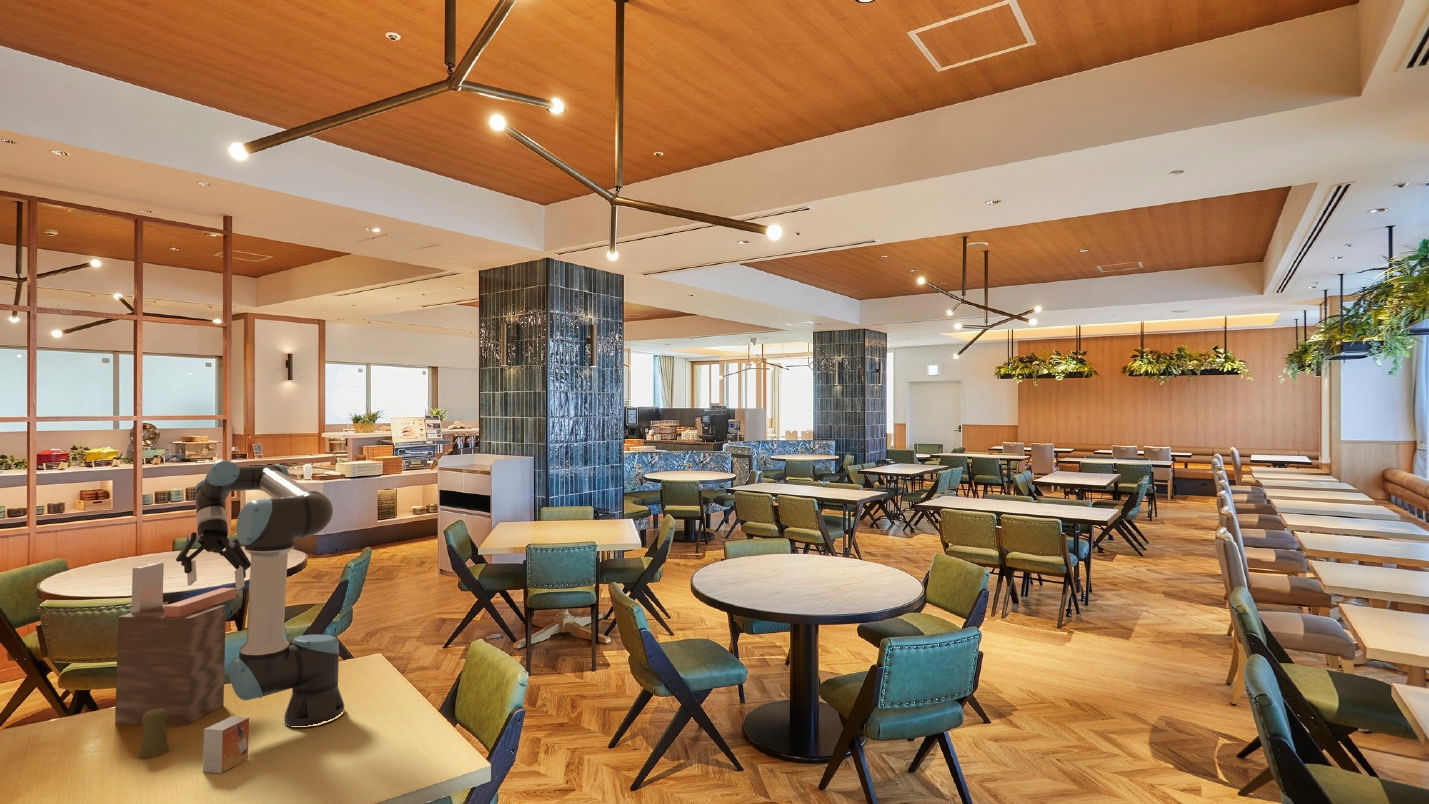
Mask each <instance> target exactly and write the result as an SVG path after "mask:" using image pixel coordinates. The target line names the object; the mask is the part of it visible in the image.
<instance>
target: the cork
mask: <svg viewBox="0 0 1429 804" xmlns="http://www.w3.org/2000/svg"><path fill="white" fill-rule="evenodd" d="M167 716H168V713H167V711H166V709H163V708H157V709H152V710H149V711H147V712H146V713H145V714H144V715H143V717H142V722H143V724H144V725H143V726H144V728H143V731H142V732H143V733H142V739H141V742H140V743H141V744H140V747H139V748H140V749H139V753H138V758H139V759H141V760H149V759H154V758H158V757H161V756H163V755H166V753H168V752H169V751H170V750H169V743H168V742H169V741H168V735H167V730H166V727H167V726H166V725H165V720H166V719H167Z"/></svg>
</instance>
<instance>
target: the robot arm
mask: <svg viewBox="0 0 1429 804" xmlns="http://www.w3.org/2000/svg"><path fill="white" fill-rule="evenodd" d="M253 490H254V491H256V490H261V491H262V492H264V493H265V494H267V495H268V496H269V497H270V498H269V497H268V498H261V499H253V500H250V501H248V502H247V503H246V504H244V505H243V507H242V508H241V509H240V512H239V514H238V516H237V520H236V529H235V530H236V531H235V532H236V538H237V539H234V540H229V538H228V534H229V529H228V517H227V516H228V515H227V506H226V505H227V504H226V500H227V497H228V496H229V494H230V492H240V491H253ZM194 499H195V511H196V524H197V532H193V531H192V533H191V534H189V535H188V536H187V538H186V543H185V545H184V546H183V548H182V549H181V550H180V552H179V553H178V555H177V557H176V558H175V561H176V562H179V563H180V562H181V563H180V565H181V567H182V566H183V571H184V574H186V578H187V586H192V585H193V584H194V583H195V582H196V581H198V579H197V577H198V576H197V561H196V560H194V559H195V558H196V557H197V556H198V555H199V554H200V553H202V552H203V551H204V550H205V551H206V552H207V553H213V554H214V553H215V554H219V555H220V557H221V556H222V557H224V558H225V560H227V562H228V563H229V564H231V566H232V567H233V568H234V569H235V571H234V580H235V588H236V591H240V590H242V588H243V587H245V585H246V584H245V578H246V577H247V573H246V572H247V570H249V584H248V585H249V586H248V587H249V589H248V605H247V624H246V627H247V628H246V642H244V644H242V645H241V647H239V650H238V651H239V653H238V656H236V657H234V658H232V659H231V660H230V663H229V664H228V666H229V667H228V675H229V679H230V683H231V687H232V689H233V692H234V693H235V695H236V697H238V698H239V699H240V700H242V701H250V700H255V699H261V698H263V697H266V696H270V695H273V694H277V693H280V692H284V691H287V690H291V696H290V698H289V702H288V705H287V707H286V709H285V713H284V718H283V719H284V720H283V721H284V722H285V723H284V722H283V723H284V725H285V724H287V725H289V726H308V725H313V724H318V723H321V722H323V721H328V720H330V719H333V718H335V717H336V716H338V715H339V714H341V712H343V710H344V711H345V703H344V700H343V697H342V694H341V691H340V688H339V664H340V663H339V662H340V661H339V660H340V646H339V640H338V639H337V637H335V636H332V635H328V634H306V635H303V634H302V635H299V636H296V637H294V638H293V641H292V644H291V645H290V641H288V640H287V639H286V638H285V637H284V633H285V632H284V631H285V616H286V615H285V612H286V595H287V580H288V579H287V578H288V576H287V575H288V574H287V573H288V558H289V556H288V554H289V553H290V551H291V550H293V549H294V548H295V547H296V546H295V545H296V544H295V543H296V542H295V541H296V539H300V538H307V537H311V536H314V535H316V534H318V533H320V532H321V531H323V530H324V529H326V527H327V526H328V525H329V523H330V522H331V520H332V518H333V514H334V510H333V509H334V507H333V505H332V502H331V500H330V499H329V497H327V496H326V495H325V494H323V493H321V492H320V491H316V490H310V489H308V488H307V487H305V486H303V485H302V484H301V483H299V482H297V481H296V480H294V479H292V478H291V477H290V473H289V470H288V468H287V467H286V466H285V465H284V464H283V465H281V464H280V465H279V464H271V465H255V466H254V465H253V466H252V465H249V466H246V465H245V466H238V464H237V463H235V462H233V461H229V460H227V459H226V460H218V461H216V462H215V463H213V464H212V465H211V466H210V468H209V470H208V471H207V473H206V475H205V478H204V479H202V480H201V481H200V482H198V483H196V485H195V489H194ZM196 542H198V543H199V545H200V546H199V547H198V548H197V549H196V550H195V551H194V552H192V553H191V554H190V555H189V556H187V555H188V553H189V552H190V550H191V548H192V547H193V545H194V544H195V543H196ZM240 544H241V545H243V546H244V550H245V552H247V553H248V554H249V555H250V560H249V558H248V556H247V555H246V553H245V552H244V550H243V549H242V547H241V545H240Z"/></svg>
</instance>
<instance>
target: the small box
mask: <svg viewBox="0 0 1429 804" xmlns="http://www.w3.org/2000/svg"><path fill="white" fill-rule="evenodd" d="M249 731H250V717H242V716H233V715H230V716H229V717H228V718H225V719H223V720H221V721H219V722H217V723H214V724H212V725H210V726H207V727H206V728H204V729H203V751H202V752H203V753H202V772H204V773H211V774H213V773H215V774H223V773H225V772H227V771H228V770H231V769H232V768H234V767H236V766H239V764H241V763H243V761H244V762H246V761H248V759H249V734H250V733H249Z"/></svg>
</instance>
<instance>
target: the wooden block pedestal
mask: <svg viewBox="0 0 1429 804" xmlns="http://www.w3.org/2000/svg"><path fill="white" fill-rule="evenodd" d="M170 604H171V603H169V604H168V603H163V606H161V607H158V608H155V609H151V610H148V611H145V612H142V613H131V612H129V613H126V614H123V615H120V616H118V618H117V641H116V642H117V643H116V644H117V645H116V646H117V647H116V648H117V650H116V679H115V682H116V683H115V708H114V709H115V710H114V711H115V713H114V714H115V715H114V724H115V725H143V726H145V725H144V724H143V722H142V717H143V715H144V714H145V713H146V712H147V711H149V710H152V709H157V708H163V709H166V711H167V713H168V716H167V719H166V720H165V726H185V727H187V726H188V724H189V725H191V724H192V723H194V722H197V721H198V720H199V719H201V717H202V718H204V717H205V716H208V715H209V714H211V713H213V712H215V711H216V710H215V709H217V710H218V709H220V708H221V707H220V706H222V707H224V706H223V705H224V704H225V703H224V702H225V701H224V699H225V698H224V697H225V693H224V692H225V668H226V666H225V665H226V661H225V660H226V654H225V653H226V621H227V605H225V604H223V605H221V604H219V605H218V604H216V605H213V606H210V607H207V608H204V609H201V610H198V611H196V612H193V613H190V614H187V615H184V616H181V617H164V606H166V605H170ZM219 707H220V708H219ZM214 710H215V711H214ZM212 711H213V712H212ZM210 712H211V713H210ZM203 716H204V717H203ZM197 719H198V720H197ZM193 721H194V722H193Z"/></svg>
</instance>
